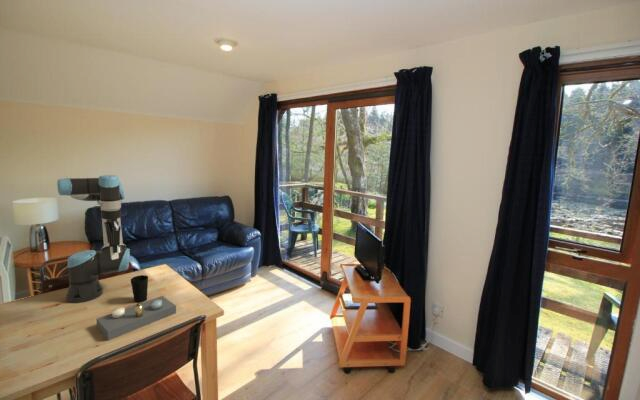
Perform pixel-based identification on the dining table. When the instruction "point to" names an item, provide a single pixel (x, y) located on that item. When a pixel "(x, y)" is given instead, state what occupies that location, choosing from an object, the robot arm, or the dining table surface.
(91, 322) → the dining table surface
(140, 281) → the cup
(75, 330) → the dining table surface
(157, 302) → the knob
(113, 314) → the knob
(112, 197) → the robot arm
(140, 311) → the trim post
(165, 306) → the panel
